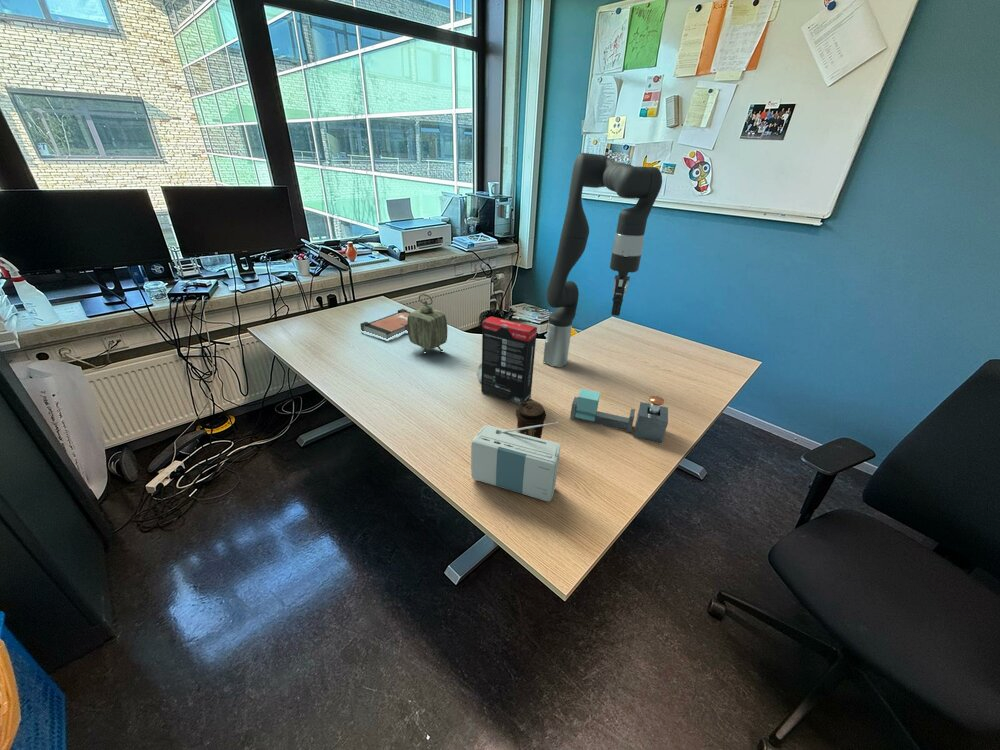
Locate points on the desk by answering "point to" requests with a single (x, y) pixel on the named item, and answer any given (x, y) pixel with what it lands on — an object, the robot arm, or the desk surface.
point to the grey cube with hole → (651, 424)
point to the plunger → (655, 404)
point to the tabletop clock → (427, 326)
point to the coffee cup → (530, 418)
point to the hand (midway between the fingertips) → (616, 310)
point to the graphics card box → (507, 359)
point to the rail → (607, 418)
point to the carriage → (587, 404)
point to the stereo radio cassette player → (515, 461)
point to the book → (388, 324)
